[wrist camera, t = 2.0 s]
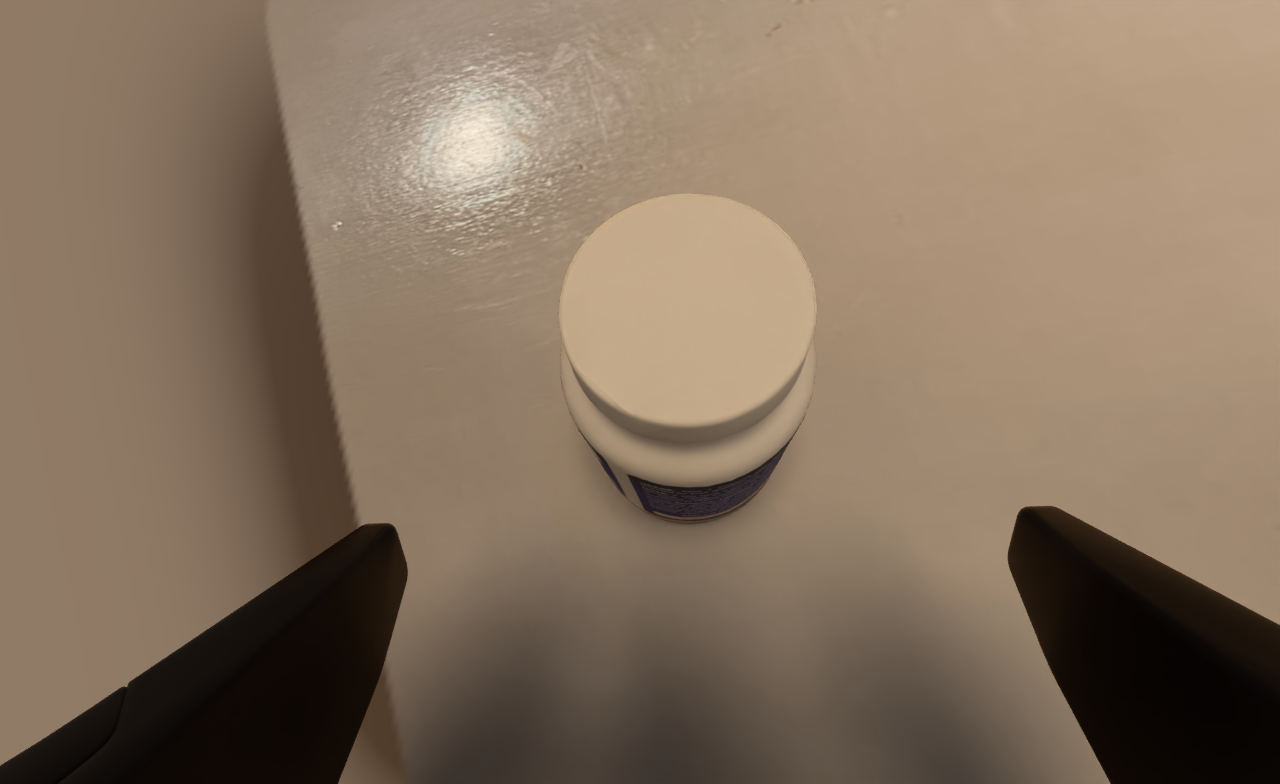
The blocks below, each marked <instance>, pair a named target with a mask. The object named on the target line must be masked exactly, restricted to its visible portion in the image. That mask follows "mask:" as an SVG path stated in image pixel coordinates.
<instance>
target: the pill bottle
mask: <svg viewBox="0 0 1280 784" xmlns="http://www.w3.org/2000/svg"><path fill="white" fill-rule="evenodd" d="M816 317H817V305H816V294H815V288H814V283H813V279H812V276H811V274H810V271H809V268H808V266H807V264H806V261H805V259H804V257H803V256H802V254H801V252H800V251H799V249H798V248H797V246H796V245H795V243H794V242H793V241H792V239H791V238H790V237H789V236H788V235H787V234H786V233H785V232H784V231H783V230H782V229H781V228H780V227H779V226H778V225H777V224H776V223H775V222H773V221H772V220H771V219H769V218H768V217H767V216H765V215H764V214H762V213H760V212H758V211H757V210H755V209H753V208H751V207H749V206H747V205H745V204H742V203H740V202H737V201H734V200H731V199H728V198H724V197H720V196H714V195H708V194H695V193H692V194H671V195H665V196H662V197H656V198H652V199H649V200H646V201H643V202H640V203H638V204H635V205H633V206H631V207H629V208H626V209H624V210H622V211H621V212H619V213H617V214H616V215H614V216H613V217H611V218H610V219H608V220H607V221H606V222H605V223H603V224H602V225H601V226H599V227H598V228H597V229H596V230H595V231H594V232H593V233H592V234H591V235H590V236H589V237H588V238H587V240H586V241H585V242H584V243H583V245H582V246H581V247H580V249H579V250H578V251H577V253H576V255H575V256H574V258H573V260H572V262H571V264H570V266H569V268H568V270H567V272H566V275H565V278H564V281H563V285H562V289H561V294H560V301H559V328H560V334H561V339H562V342H563V343H562V348H561V359H560V374H561V383H562V388H563V392H564V396H565V400H566V403H567V406H568V409H569V411H570V414H571V416H572V418H573V420H574V422H575V424H576V426H577V427H578V429H579V431H580V433H581V434H582V436H583V437H584V439H585V440H586V441H587V443H588V444H589V446H590V448H591V449H592V451H593V452H594V454H595V455H596V457H597V458H598V460H599V461H600V463H601V465H602V466H603V468H604V470H605V471H606V473H607V474H608V476H609V477H610V479H611V480H612V482H613V483H614V484H615V486H616V487H617V488H618V490H619V491H620V492H621V493H622V494H623V495H624V496H625V497H626V498H627V499H628V500H630V501H631V502H632V503H633V504H635V505H636V506H637V507H639V508H640V509H642V510H644V511H645V512H647V513H649V514H651V515H654V516H656V517H659V518H662V519H665V520H669V521H674V522H681V523H698V522H706V521H711V520H715V519H718V518H721V517H723V516H726V515H728V514H730V513H732V512H734V511H736V510H738V509H739V508H741V507H742V506H744V505H745V504H746V503H747V502H748V501H750V500H751V499H752V498H753V497H754V496H755V495H756V494H757V493H758V492H759V491H760V490H761V488H762V487H763V486H764V485H765V483H766V482H767V480H768V478H769V477H770V475H771V473H772V472H773V470H774V468H775V466H776V465H777V463H778V461H779V460H780V458H781V456H782V454H783V453H784V451H785V449H786V447H787V446H788V444H789V442H790V441H791V439H792V438H793V436H794V434H795V433H796V431H797V429H798V428H799V426H800V424H801V422H802V421H803V419H804V417H805V414H806V411H807V409H808V406H809V403H810V400H811V397H812V393H813V389H814V384H815V377H816V353H815V344H814V340H813V335H814V331H815V325H816Z"/></svg>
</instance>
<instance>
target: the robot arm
mask: <svg viewBox="0 0 1280 784" xmlns="http://www.w3.org/2000/svg"><path fill="white" fill-rule="evenodd" d="M1008 564H1009V568H1010V571H1011V573H1012V576H1013V578H1014V581H1015V583H1016V586H1017V588H1018V591H1019V593H1020V596H1021V598H1022V601H1023V603H1024V606H1025V608H1026V611H1027V613H1028V616H1029V618H1030V621H1031V623H1032V626H1033V628H1034V631H1035V633H1036V636H1037V638H1038V641H1039V643H1040V646H1041V648H1042V651H1043V653H1044V656H1045V658H1046V660H1047V662H1048V665H1049V667H1050V669H1051V671H1052V673H1053V675H1054V677H1055V679H1056V681H1057V683H1058V685H1059V687H1060V689H1061V691H1062V693H1063V695H1064V697H1065V698H1066V700H1067V702H1068V704H1069V706H1070V708H1071V710H1072V712H1073V714H1074V715H1075V717H1076V719H1077V721H1078V723H1079V725H1080V727H1081V729H1082V730H1083V732H1084V734H1085V736H1086V738H1087V740H1088V742H1089V744H1090V746H1091V747H1092V749H1093V751H1094V753H1095V755H1096V757H1097V759H1098V761H1099V762H1100V764H1101V766H1102V768H1103V770H1104V772H1105V774H1106V776H1107V778H1108V779H1109V781H1110V783H1111V784H1280V625H1278V624H1277V623H1275V622H1273V621H1271V620H1269V619H1267V618H1265V617H1263V616H1261V615H1260V614H1258V613H1256V612H1254V611H1252V610H1250V609H1248V608H1246V607H1244V606H1242V605H1241V604H1239V603H1237V602H1235V601H1233V600H1231V599H1229V598H1227V597H1225V596H1224V595H1222V594H1220V593H1218V592H1216V591H1214V590H1212V589H1210V588H1208V587H1207V586H1205V585H1203V584H1201V583H1199V582H1197V581H1195V580H1193V579H1191V578H1189V577H1188V576H1186V575H1184V574H1182V573H1180V572H1178V571H1176V570H1174V569H1172V568H1171V567H1169V566H1167V565H1165V564H1163V563H1161V562H1159V561H1157V560H1155V559H1154V558H1152V557H1150V556H1148V555H1146V554H1144V553H1142V552H1140V551H1138V550H1136V549H1135V548H1133V547H1131V546H1129V545H1127V544H1125V543H1123V542H1121V541H1119V540H1118V539H1116V538H1114V537H1112V536H1110V535H1108V534H1106V533H1104V532H1102V531H1101V530H1099V529H1097V528H1095V527H1093V526H1091V525H1089V524H1087V523H1085V522H1083V521H1082V520H1080V519H1078V518H1076V517H1074V516H1072V515H1070V514H1068V513H1066V512H1065V511H1063V510H1061V509H1059V508H1057V507H1053V506H1029V507H1024V508H1022V509H1021V510H1020V511H1019V513H1018V515H1017V519H1016V522H1015V526H1014V530H1013V534H1012V538H1011V542H1010V546H1009V550H1008ZM407 576H408V569H407V563H406V560H405V556H404V553H403V550H402V546H401V543H400V540H399V537H398V533H397V531H396V528H395V527H394V526H393V525H391V524H389V523H377V524H365V525H362V526H361V527H359V528H358V529H356V530H355V531H353V532H352V533H350V534H349V535H347V536H346V537H344V538H343V539H341V540H340V541H339V542H337V543H335V544H334V545H333V546H331V547H330V548H328V549H326V550H325V551H324V552H322V553H321V554H319V555H318V556H316V557H315V558H313V559H312V560H310V561H309V562H307V563H306V564H304V565H303V566H301V567H300V568H298V569H297V570H295V571H294V572H292V573H291V574H289V575H288V576H286V577H285V578H283V579H282V580H280V581H279V582H277V583H276V584H275V585H273V586H271V587H270V588H269V589H267V590H266V591H264V592H263V593H261V594H260V595H258V596H257V597H255V598H254V599H252V600H251V601H249V602H248V603H246V604H245V605H244V606H242V607H240V608H239V609H237V610H236V611H234V612H233V613H231V614H230V615H228V616H227V617H225V618H224V619H222V620H221V621H219V622H218V623H216V624H215V625H213V626H212V627H211V628H209V629H208V630H206V631H205V632H203V633H202V634H200V635H199V636H197V637H196V638H194V639H193V640H191V641H190V642H188V643H187V644H185V645H184V646H182V647H181V648H179V649H178V650H176V651H175V652H173V653H172V654H170V655H169V656H168V657H166V658H164V659H163V660H161V661H160V662H158V663H157V664H155V665H154V666H152V667H151V668H150V669H148V670H147V671H145V672H144V673H142V674H141V675H139V676H138V677H136V678H135V679H133V680H132V681H130V682H129V684H128V686H127V687H121V688H119V689H118V690H117V691H115V692H114V693H112V694H111V695H109V696H108V697H106V698H105V699H103V700H102V701H100V702H99V703H97V704H96V705H94V706H93V707H91V708H90V709H88V710H87V711H85V712H84V713H82V714H81V715H79V716H78V717H76V718H75V719H73V720H72V721H70V722H69V723H67V724H65V725H64V726H62V727H61V728H59V729H58V730H56V731H55V732H54V733H52V734H50V735H49V736H47V737H46V738H44V739H42V740H41V741H39V742H38V743H36V744H35V745H33V746H31V747H30V748H28V749H26V750H25V751H23V752H22V753H20V754H18V755H17V756H15V757H14V758H12V759H10V760H9V761H7V762H5V763H4V764H2V765H1V766H0V784H338V782H339V779H340V777H341V774H342V772H343V769H344V767H345V764H346V762H347V759H348V757H349V754H350V752H351V749H352V747H353V744H354V742H355V739H356V737H357V734H358V732H359V729H360V726H361V724H362V721H363V719H364V716H365V714H366V711H367V709H368V706H369V704H370V701H371V699H372V696H373V694H374V691H375V688H376V686H377V683H378V680H379V678H380V675H381V671H382V668H383V665H384V662H385V658H386V655H387V651H388V647H389V644H390V640H391V636H392V633H393V629H394V626H395V622H396V618H397V615H398V611H399V608H400V604H401V600H402V597H403V593H404V589H405V586H406V582H407Z"/></svg>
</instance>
